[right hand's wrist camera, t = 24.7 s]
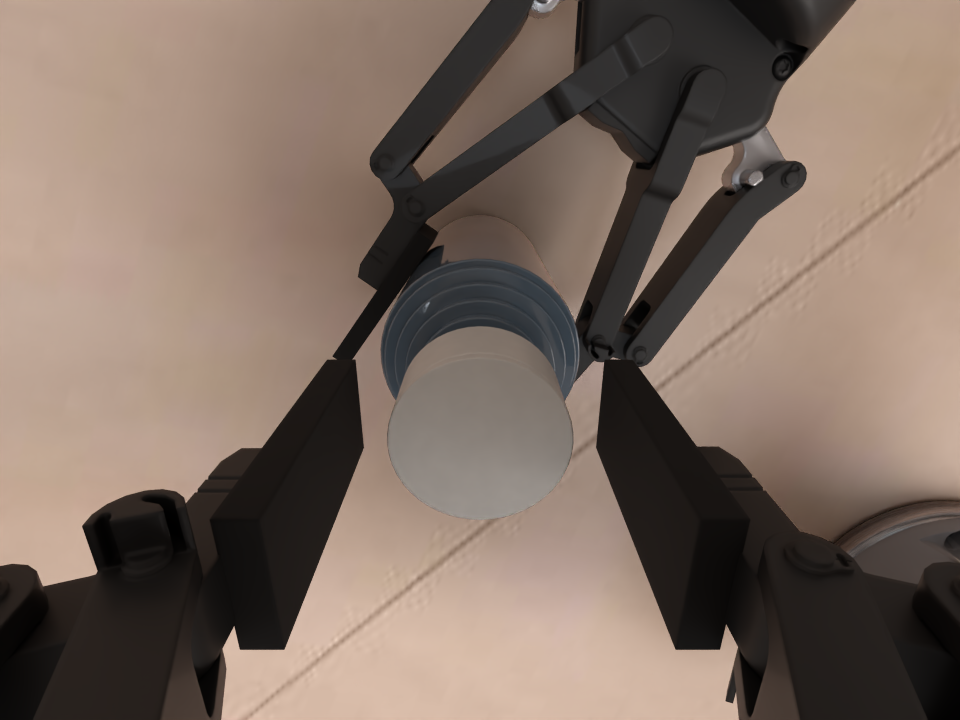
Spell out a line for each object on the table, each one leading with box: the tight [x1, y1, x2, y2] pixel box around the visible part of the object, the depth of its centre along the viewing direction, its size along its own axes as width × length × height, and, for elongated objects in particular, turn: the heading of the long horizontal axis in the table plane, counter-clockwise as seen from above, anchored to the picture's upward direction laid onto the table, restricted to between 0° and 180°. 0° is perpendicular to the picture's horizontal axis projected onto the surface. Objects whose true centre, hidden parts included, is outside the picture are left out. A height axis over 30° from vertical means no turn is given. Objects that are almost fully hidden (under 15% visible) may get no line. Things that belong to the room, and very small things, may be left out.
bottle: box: [381, 215, 580, 401], centre depth 21 cm, size 7×7×17 cm
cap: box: [387, 326, 573, 520], centre depth 14 cm, size 4×4×2 cm
